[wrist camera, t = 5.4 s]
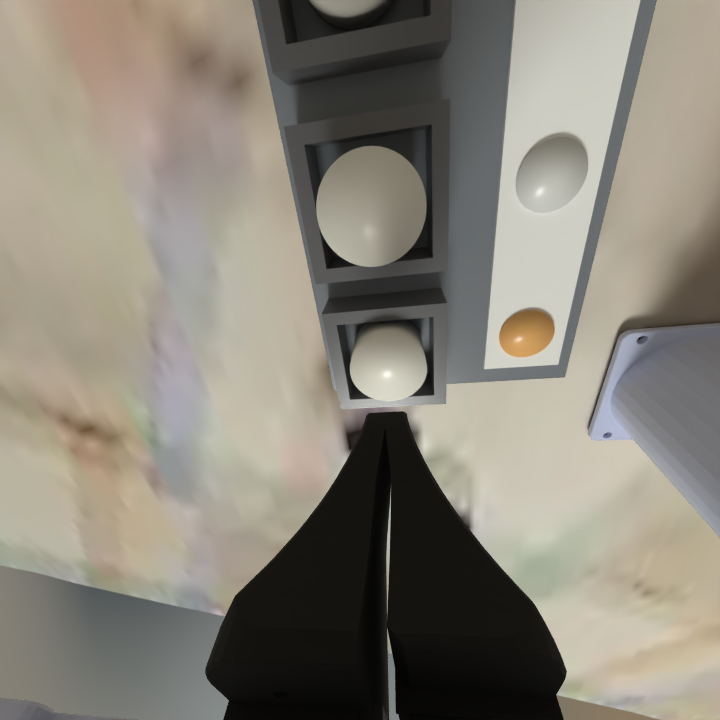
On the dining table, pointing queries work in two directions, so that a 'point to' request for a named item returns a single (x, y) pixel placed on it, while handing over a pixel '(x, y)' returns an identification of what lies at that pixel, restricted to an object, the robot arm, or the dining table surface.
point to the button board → (462, 169)
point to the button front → (350, 11)
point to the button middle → (371, 206)
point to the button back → (388, 360)
